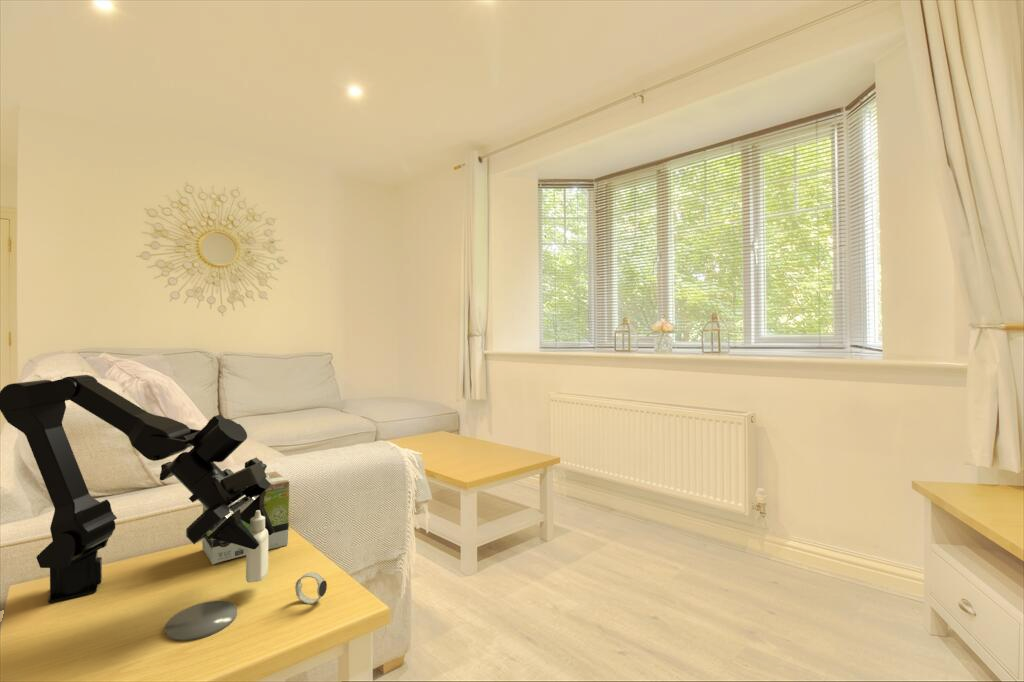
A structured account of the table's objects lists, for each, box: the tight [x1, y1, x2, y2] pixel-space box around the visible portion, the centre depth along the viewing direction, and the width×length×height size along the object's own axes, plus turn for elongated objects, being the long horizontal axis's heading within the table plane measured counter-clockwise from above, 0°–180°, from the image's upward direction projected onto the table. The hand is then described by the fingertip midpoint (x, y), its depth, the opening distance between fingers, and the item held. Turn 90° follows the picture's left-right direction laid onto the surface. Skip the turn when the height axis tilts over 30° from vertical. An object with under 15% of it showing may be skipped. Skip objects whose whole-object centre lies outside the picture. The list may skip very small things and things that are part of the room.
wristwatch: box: [294, 571, 328, 605], centre depth 87 cm, size 3×5×5 cm, turn 81°
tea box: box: [201, 470, 290, 565], centre depth 107 cm, size 15×10×15 cm, turn 132°
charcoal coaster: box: [164, 600, 238, 642], centre depth 80 cm, size 10×10×1 cm
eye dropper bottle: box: [245, 510, 269, 583], centre depth 90 cm, size 4×6×12 cm
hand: (265, 540), depth 90 cm, fingers closed on eye dropper bottle, 5 cm apart
